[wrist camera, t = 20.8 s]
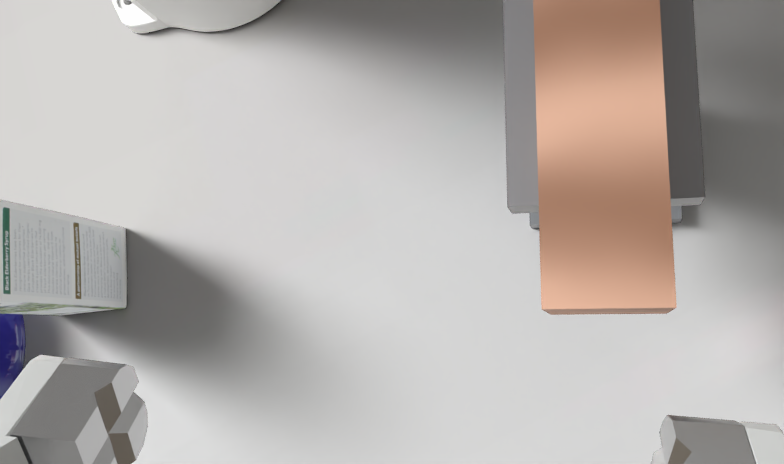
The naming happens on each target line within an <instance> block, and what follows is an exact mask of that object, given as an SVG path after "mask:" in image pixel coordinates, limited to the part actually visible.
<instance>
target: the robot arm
mask: <svg viewBox="0 0 784 464" xmlns="http://www.w3.org/2000/svg"><path fill="white" fill-rule="evenodd" d="M111 1H112V3H113V5H114V7H115V9H116V11H117V13H118V16H119V18H120V20H121V21H122V23H123V24H124V25H125V26H126V27H128V28H129V29H130V30H131V31H132V32H134V33H148V32H153V31H157V30H160V29H164V28H167V27H176V28H183V29H188V30H193V31H202V32H212V31H222V30H227V29H231V28H235V27H238V26H241V25H243V24H246V23H248V22H250V21H252V20H254V19H256V18H258V17H260V16H261V15H263V14H264V13H266V12H267V11H269V10H270V9H271V8H273V7H274V6H275V5H276V4H278V3H279V2H280V1H281V0H111ZM130 2H132V4H130ZM138 382H139V381H138V378H137V375H136V372H135V369H134V367H133V366H129V365H126V364H117V363H109V362H101V361H93V360H84V359H76V358H64V357H55V356H47V355H39V356H37V357H35V358H34V359H32V360H30V361H29V363H28V364H27V365H26V367H25V368H24V369H23V371H22V372H21V373H20V374H19V376H18V377H17V378H16V380H15V381H14V382H13V384H12V385H11V386H10V388H9V389H8V390H7V391H6V393H5V394H4V395H3V397H2V398H1V399H0V464H131V463H133V462H134V461H136V459H137V457H138V455H139V453H140V451H141V449H142V447H143V445H144V440H145V436H146V432H147V427H148V417H147V409H146V406H145V402H144V401H143V400H142V399H141V398H140V397H139V396H138V395H137V394H135V393H134V392H133V391H134V390H135V388H136V386H137V384H138ZM659 433H660V439H661V444H662V448H660V449H659V450H657V451H655V452H654V453H653V457H652V461H651V464H784V434H783V432H782V430H781V429H780V428H779V427H778V426H777V425H776V424H766V423H754V422H743V421H739V422H737V421H734V420H722V419H710V418H698V417H686V416H674V415H667V416H666V417H665V418H664V420H663V422H662V425H661V428H660V432H659Z"/></svg>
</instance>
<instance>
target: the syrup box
mask: <svg viewBox="0 0 784 464" xmlns="http://www.w3.org/2000/svg"><path fill="white" fill-rule="evenodd" d="M126 305H127V262H126V229H125V228H124V227H120V226H116V225H111V224H108V223H103V222H100V221H96V220H91V219H87V218H83V217H78V216H74V215H69V214H65V213H60V212H56V211H51V210H47V209H42V208H38V207H33V206H28V205H24V204H19V203H14V202H9V201H5V200H0V313H1V314H25V315H53V316H61V315H70V314H79V313H87V312H96V311H106V310H115V309H124V308H126Z"/></svg>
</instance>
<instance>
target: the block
mask: <svg viewBox="0 0 784 464" xmlns="http://www.w3.org/2000/svg"><path fill="white" fill-rule="evenodd" d="M533 12H534V49H535V85H536V122H537V158H538V195H539V231H540V268H541V304H542V310H544V311H546V312H547V313H549V314H551V315H556V314H667V313H668V312H670V311H672V310H673V309H675V308H676V291H675V273H674V254H673V236H672V218H671V200H670V182H669V163H668V145H667V127H666V109H665V90H664V72H663V54H662V36H661V17H660V0H533Z"/></svg>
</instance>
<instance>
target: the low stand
mask: <svg viewBox="0 0 784 464" xmlns="http://www.w3.org/2000/svg"><path fill="white" fill-rule="evenodd" d="M660 17H661V36H662V54H663V72H664V90H665V109H666V127H667V145H668V163H669V182H670V200H671V218H672V223H677V222H681V220H682V209H681V206H687V205H701V203H702V201H703V200H704V198H705V187H704V171H703V155H702V139H701V123H700V107H699V91H698V75H697V59H696V43H695V27H694V11H693V0H660ZM503 25H504V72H505V118H506V165H507V207H508V208H509V210H510V211H511V213H512V214H514V213H530V226H531V228H539V195H538V158H537V122H536V85H535V49H534V12H533V0H503Z"/></svg>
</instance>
